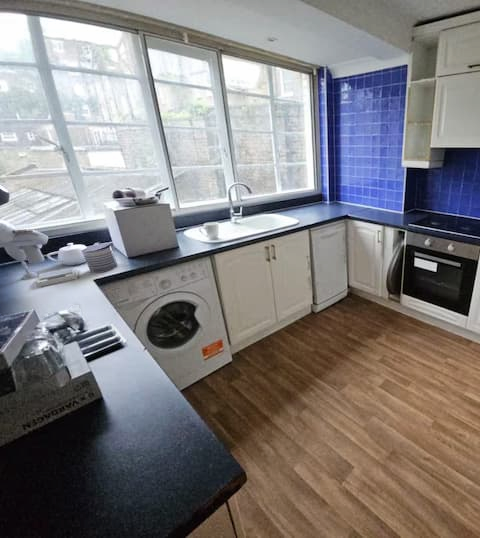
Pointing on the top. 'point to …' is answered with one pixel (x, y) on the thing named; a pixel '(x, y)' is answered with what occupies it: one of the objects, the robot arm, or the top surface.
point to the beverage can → (33, 254)
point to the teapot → (70, 254)
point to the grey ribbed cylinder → (100, 258)
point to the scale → (57, 276)
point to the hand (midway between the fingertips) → (31, 247)
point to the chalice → (20, 256)
